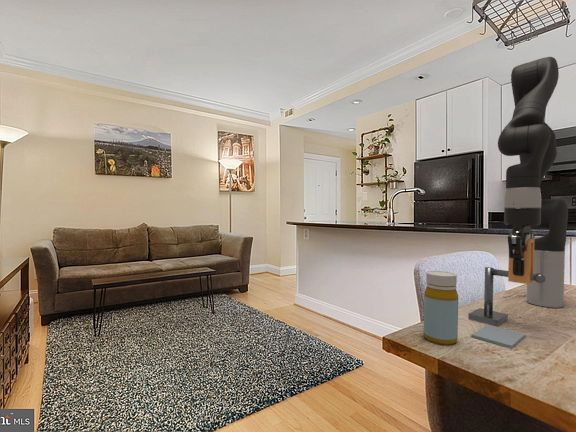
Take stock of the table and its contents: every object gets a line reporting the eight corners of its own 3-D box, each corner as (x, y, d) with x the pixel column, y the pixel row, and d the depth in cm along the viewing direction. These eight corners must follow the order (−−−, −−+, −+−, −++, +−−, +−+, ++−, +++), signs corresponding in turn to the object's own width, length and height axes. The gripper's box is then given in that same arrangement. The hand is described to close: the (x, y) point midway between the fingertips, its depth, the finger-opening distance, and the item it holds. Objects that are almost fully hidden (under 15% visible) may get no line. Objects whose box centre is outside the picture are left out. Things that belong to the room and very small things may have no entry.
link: (513, 279, 85) (513, 237, 85) (533, 281, 82) (534, 238, 82) (508, 281, 83) (509, 238, 82) (529, 284, 79) (530, 239, 79)
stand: (479, 313, 93) (480, 263, 93) (548, 328, 81) (550, 272, 81) (468, 319, 88) (469, 266, 88) (540, 336, 76) (541, 276, 76)
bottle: (454, 335, 76) (456, 271, 76) (459, 347, 69) (461, 277, 69) (422, 331, 78) (423, 269, 78) (424, 343, 72) (425, 275, 71)
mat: (486, 327, 82) (487, 324, 82) (525, 337, 76) (525, 334, 76) (471, 337, 75) (471, 334, 75) (511, 348, 69) (511, 345, 69)
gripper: (513, 206, 89) (512, 268, 90) (495, 206, 80) (494, 275, 80) (547, 206, 84) (546, 272, 84) (532, 206, 74) (531, 280, 75)
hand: (521, 273), depth 82 cm, fingers closed on link, 4 cm apart
